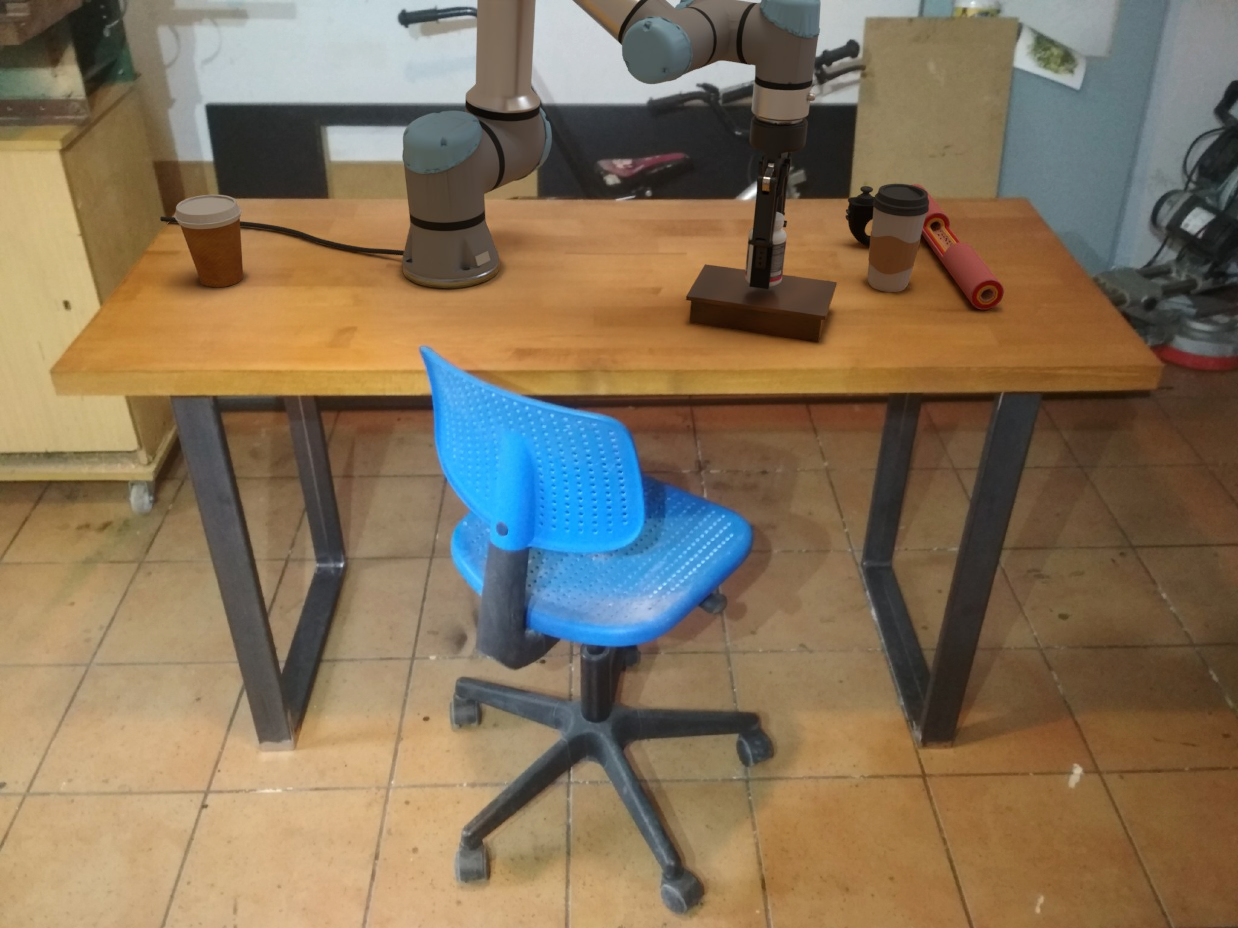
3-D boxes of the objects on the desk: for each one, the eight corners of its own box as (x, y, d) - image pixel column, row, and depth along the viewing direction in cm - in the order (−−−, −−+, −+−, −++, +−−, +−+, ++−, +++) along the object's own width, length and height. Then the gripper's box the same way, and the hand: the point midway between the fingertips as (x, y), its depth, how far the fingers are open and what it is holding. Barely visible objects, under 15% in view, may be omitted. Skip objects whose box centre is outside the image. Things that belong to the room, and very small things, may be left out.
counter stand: (684, 324, 155) (686, 296, 152) (703, 291, 164) (705, 264, 162) (821, 344, 150) (825, 315, 148) (832, 309, 160) (836, 282, 157)
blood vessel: (897, 210, 195) (901, 183, 192) (924, 210, 195) (928, 183, 192) (967, 310, 160) (974, 279, 157) (1000, 310, 160) (1007, 279, 158)
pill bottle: (789, 282, 153) (797, 218, 148) (760, 291, 151) (767, 225, 145) (765, 269, 157) (772, 206, 152) (736, 277, 155) (742, 213, 149)
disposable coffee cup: (265, 279, 165) (252, 204, 159) (209, 297, 159) (192, 221, 153) (233, 261, 171) (219, 189, 164) (178, 279, 165) (160, 204, 158)
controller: (839, 240, 182) (847, 183, 177) (909, 239, 183) (919, 183, 178) (845, 250, 179) (853, 192, 173) (917, 249, 180) (927, 192, 174)
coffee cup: (919, 279, 169) (936, 188, 161) (908, 299, 163) (925, 205, 155) (867, 269, 172) (882, 179, 164) (854, 289, 166) (868, 196, 157)
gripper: (797, 139, 133) (778, 308, 146) (817, 101, 147) (798, 258, 160) (738, 133, 134) (724, 301, 147) (764, 96, 149) (749, 251, 162)
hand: (763, 278), depth 154 cm, fingers closed on pill bottle, 5 cm apart
